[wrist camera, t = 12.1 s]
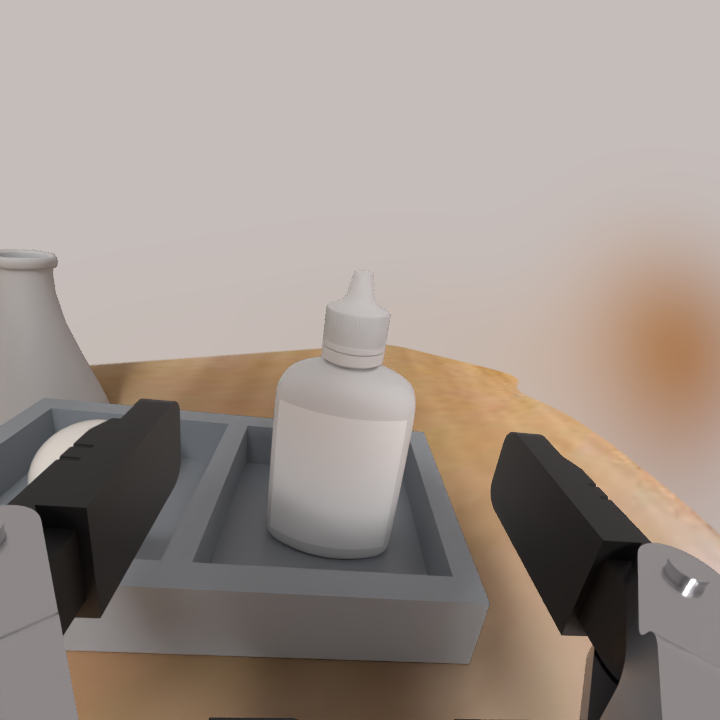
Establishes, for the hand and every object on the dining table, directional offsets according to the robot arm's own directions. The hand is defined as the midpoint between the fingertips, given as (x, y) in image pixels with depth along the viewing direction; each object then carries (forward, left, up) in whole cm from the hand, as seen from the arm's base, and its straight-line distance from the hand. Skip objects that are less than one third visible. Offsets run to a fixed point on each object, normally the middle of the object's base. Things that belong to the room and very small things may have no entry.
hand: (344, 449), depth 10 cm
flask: (-18, +16, -9) cm, 25 cm away
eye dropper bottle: (0, +6, -9) cm, 11 cm away
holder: (-5, +7, -9) cm, 12 cm away
